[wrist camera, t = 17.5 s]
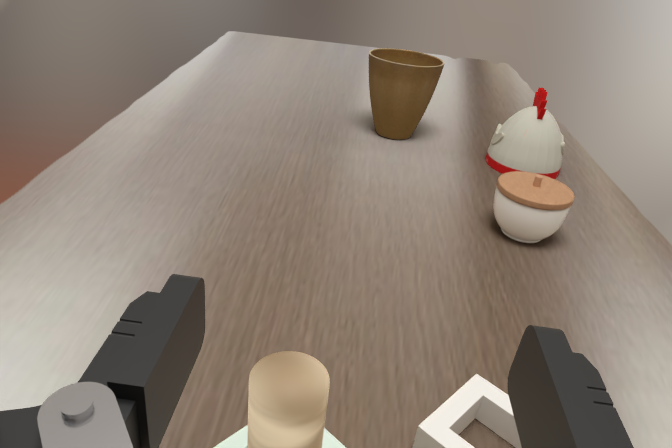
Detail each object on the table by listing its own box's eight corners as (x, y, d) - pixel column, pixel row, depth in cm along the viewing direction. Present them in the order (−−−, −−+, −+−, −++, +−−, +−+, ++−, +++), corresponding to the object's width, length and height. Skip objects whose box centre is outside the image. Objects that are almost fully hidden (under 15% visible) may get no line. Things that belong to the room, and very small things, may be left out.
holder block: (506, 529, 40) (517, 504, 39) (411, 450, 45) (418, 426, 44) (558, 459, 46) (569, 436, 44) (469, 396, 51) (476, 373, 50)
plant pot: (431, 151, 106) (447, 70, 98) (356, 141, 107) (367, 59, 99) (427, 126, 119) (441, 53, 111) (360, 117, 120) (370, 44, 112)
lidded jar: (475, 234, 79) (491, 176, 74) (497, 208, 87) (512, 155, 82) (548, 260, 74) (570, 201, 70) (564, 231, 83) (584, 176, 78)
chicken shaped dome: (551, 159, 110) (575, 86, 102) (564, 186, 98) (592, 107, 91) (483, 148, 111) (501, 75, 104) (487, 174, 99) (509, 94, 92)
